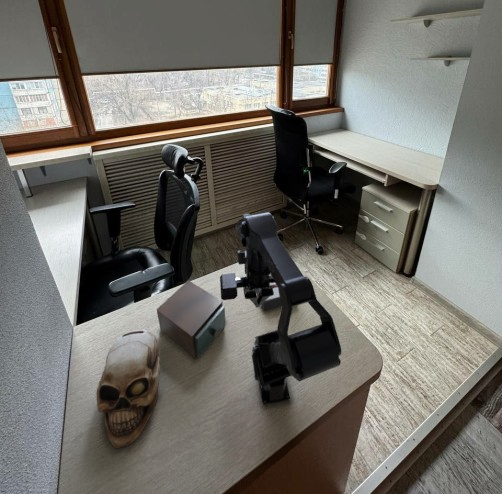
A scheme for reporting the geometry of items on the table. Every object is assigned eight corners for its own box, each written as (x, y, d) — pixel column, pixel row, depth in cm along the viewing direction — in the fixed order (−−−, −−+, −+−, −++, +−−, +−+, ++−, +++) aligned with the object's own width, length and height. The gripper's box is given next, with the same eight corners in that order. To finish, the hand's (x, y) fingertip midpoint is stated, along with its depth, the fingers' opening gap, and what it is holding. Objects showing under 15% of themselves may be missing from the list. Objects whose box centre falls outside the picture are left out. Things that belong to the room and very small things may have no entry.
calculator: (279, 260, 98) (296, 292, 84) (278, 270, 99) (296, 302, 86) (250, 267, 95) (263, 301, 82) (250, 276, 97) (263, 311, 83)
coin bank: (116, 458, 53) (102, 413, 49) (89, 393, 65) (76, 352, 61) (184, 392, 64) (177, 351, 60) (150, 346, 76) (142, 309, 72)
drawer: (228, 326, 78) (228, 309, 75) (203, 360, 69) (201, 342, 66) (194, 303, 85) (192, 286, 82) (167, 332, 76) (164, 314, 73)
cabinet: (223, 323, 80) (222, 301, 76) (194, 359, 70) (192, 336, 67) (190, 301, 87) (188, 280, 83) (160, 331, 77) (156, 309, 74)
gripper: (286, 234, 73) (283, 277, 79) (217, 241, 70) (220, 285, 77) (299, 265, 63) (295, 311, 69) (219, 274, 60) (222, 321, 66)
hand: (257, 305), depth 70 cm, fingers closed
